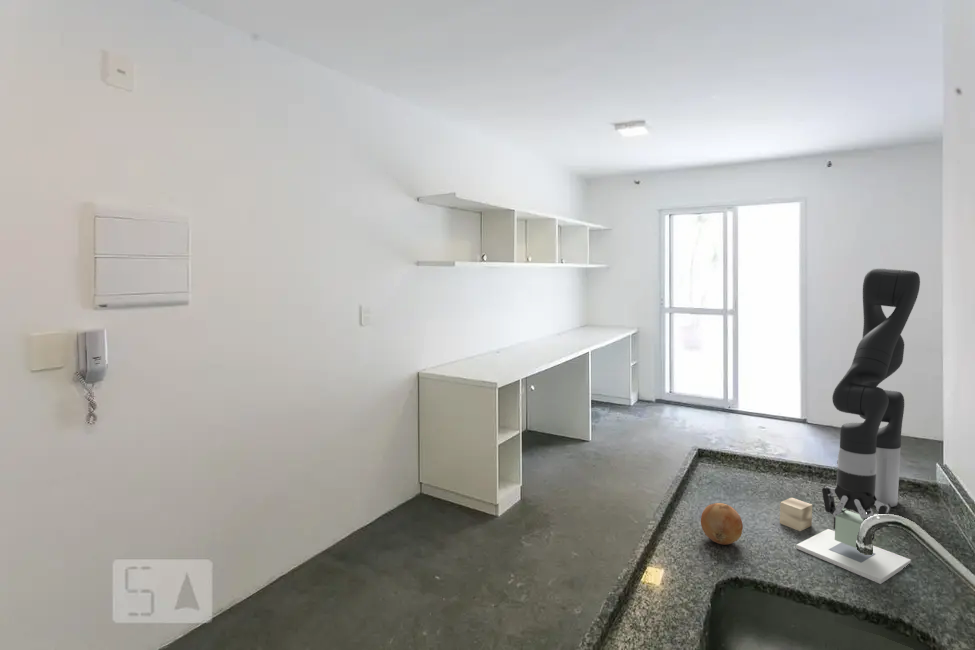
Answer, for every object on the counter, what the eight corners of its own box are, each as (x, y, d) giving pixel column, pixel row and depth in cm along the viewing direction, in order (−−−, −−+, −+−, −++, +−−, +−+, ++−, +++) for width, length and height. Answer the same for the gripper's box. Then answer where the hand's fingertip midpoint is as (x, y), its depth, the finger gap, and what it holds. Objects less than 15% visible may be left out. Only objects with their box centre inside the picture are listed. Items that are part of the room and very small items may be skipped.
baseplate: (827, 532, 138) (828, 528, 138) (910, 563, 123) (910, 559, 123) (796, 548, 130) (796, 544, 130) (880, 583, 115) (880, 579, 115)
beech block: (790, 518, 147) (791, 497, 146) (811, 526, 142) (812, 504, 141) (779, 523, 144) (780, 502, 143) (800, 531, 139) (801, 509, 139)
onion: (739, 535, 137) (740, 498, 136) (744, 554, 128) (745, 515, 127) (699, 530, 140) (700, 493, 140) (701, 548, 131) (702, 509, 130)
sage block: (846, 533, 130) (847, 510, 129) (871, 543, 125) (872, 518, 125) (834, 539, 127) (835, 515, 127) (860, 549, 122) (861, 524, 122)
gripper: (899, 474, 120) (895, 545, 122) (831, 456, 133) (828, 521, 134) (884, 481, 117) (880, 555, 118) (816, 462, 129) (813, 529, 130)
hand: (853, 537), depth 126 cm, fingers closed on sage block, 5 cm apart
